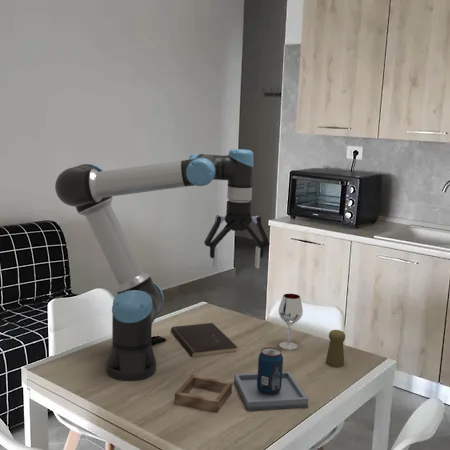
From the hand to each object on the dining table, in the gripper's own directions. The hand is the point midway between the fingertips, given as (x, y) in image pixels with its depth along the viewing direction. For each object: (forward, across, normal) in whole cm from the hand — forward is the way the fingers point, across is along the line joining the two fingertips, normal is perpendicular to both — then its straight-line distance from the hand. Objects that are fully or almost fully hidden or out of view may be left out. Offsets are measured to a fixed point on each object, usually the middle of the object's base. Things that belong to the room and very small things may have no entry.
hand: (235, 267), depth 184 cm
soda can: (+30, -6, +24) cm, 39 cm away
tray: (+31, -6, +24) cm, 39 cm away
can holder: (+31, +13, +24) cm, 41 cm away
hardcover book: (+31, +7, -16) cm, 36 cm away
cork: (+31, -33, +6) cm, 46 cm away
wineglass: (+31, -22, -9) cm, 39 cm away
